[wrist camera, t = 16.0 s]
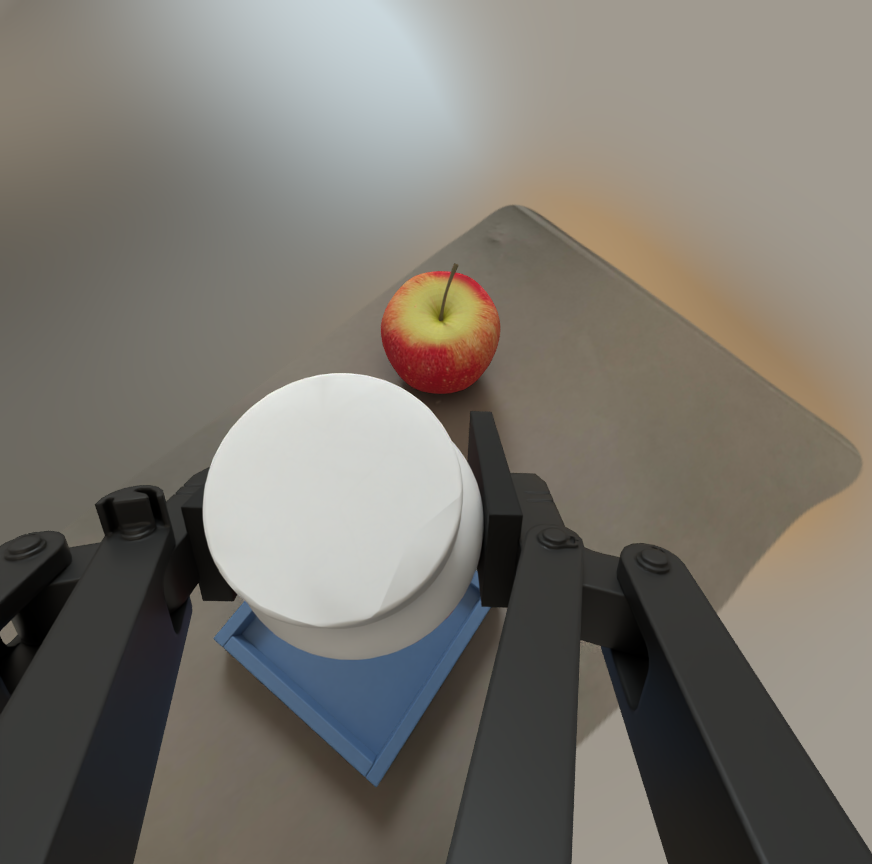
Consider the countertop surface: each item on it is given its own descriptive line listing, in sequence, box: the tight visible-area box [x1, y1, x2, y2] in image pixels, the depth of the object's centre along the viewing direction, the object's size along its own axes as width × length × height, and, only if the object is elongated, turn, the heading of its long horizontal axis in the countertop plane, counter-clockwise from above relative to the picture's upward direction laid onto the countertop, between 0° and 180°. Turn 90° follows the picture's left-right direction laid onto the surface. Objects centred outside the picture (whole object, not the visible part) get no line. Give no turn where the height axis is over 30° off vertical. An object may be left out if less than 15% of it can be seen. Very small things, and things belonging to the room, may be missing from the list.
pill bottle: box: [203, 373, 484, 660], centre depth 13 cm, size 6×6×11 cm
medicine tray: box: [214, 571, 491, 787], centre depth 28 cm, size 13×13×2 cm
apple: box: [381, 263, 500, 394], centre depth 32 cm, size 8×8×10 cm
